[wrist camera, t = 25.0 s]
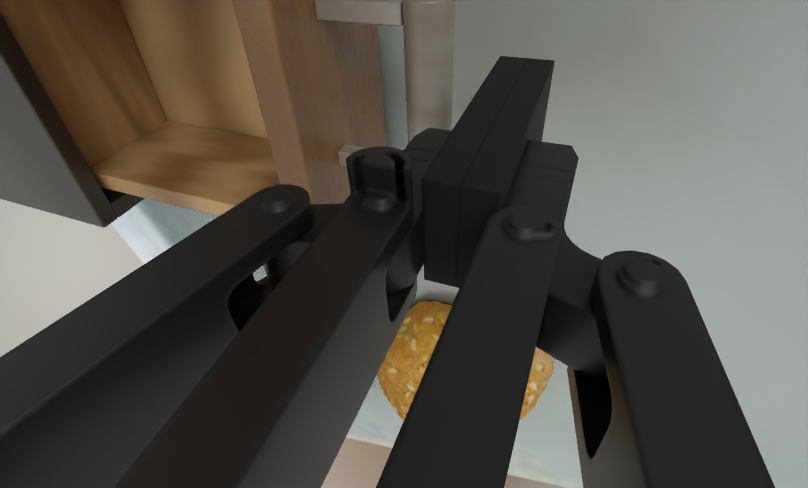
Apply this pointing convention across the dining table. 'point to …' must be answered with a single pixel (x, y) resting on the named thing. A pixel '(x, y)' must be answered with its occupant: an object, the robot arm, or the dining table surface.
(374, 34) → the drawer
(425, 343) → the bagel
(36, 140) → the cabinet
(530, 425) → the dining table surface
